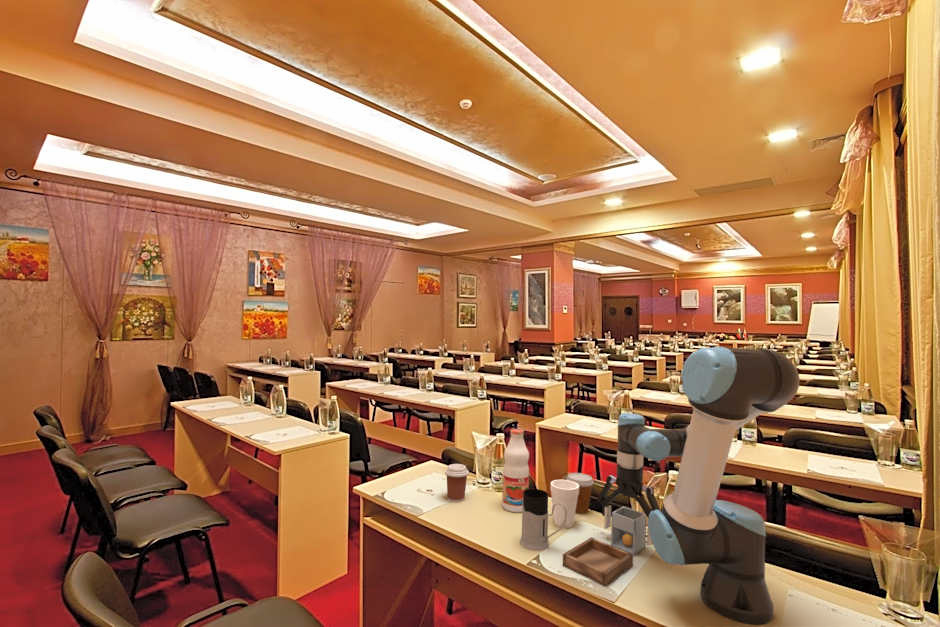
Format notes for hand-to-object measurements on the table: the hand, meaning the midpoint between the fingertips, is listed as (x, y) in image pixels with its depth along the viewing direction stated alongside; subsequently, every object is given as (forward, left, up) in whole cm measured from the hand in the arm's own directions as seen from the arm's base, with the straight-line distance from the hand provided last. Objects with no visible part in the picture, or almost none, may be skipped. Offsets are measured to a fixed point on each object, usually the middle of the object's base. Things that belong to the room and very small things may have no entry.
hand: (628, 535), depth 133 cm
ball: (0, 0, -3) cm, 3 cm away
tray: (-5, +16, -3) cm, 17 cm away
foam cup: (+20, +9, -3) cm, 22 cm away
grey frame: (0, 0, -3) cm, 3 cm away
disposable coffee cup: (+27, -3, -3) cm, 27 cm away
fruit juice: (+37, +18, -3) cm, 41 cm away
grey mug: (+9, +24, -3) cm, 26 cm away
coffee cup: (+52, +35, -3) cm, 63 cm away
